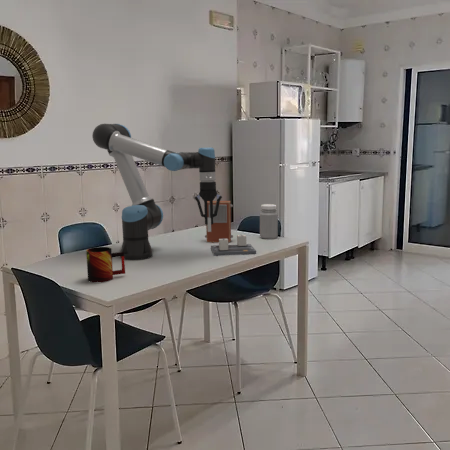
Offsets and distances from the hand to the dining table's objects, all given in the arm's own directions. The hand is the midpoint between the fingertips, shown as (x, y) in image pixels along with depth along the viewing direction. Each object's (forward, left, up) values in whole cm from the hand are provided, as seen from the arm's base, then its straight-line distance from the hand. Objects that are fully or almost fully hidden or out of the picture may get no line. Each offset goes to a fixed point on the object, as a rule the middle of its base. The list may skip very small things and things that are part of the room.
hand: (209, 231), depth 245 cm
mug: (-45, -35, -11) cm, 58 cm away
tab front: (+7, 0, -9) cm, 11 cm away
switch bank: (+12, +4, -11) cm, 17 cm away
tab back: (+17, +8, -9) cm, 21 cm away
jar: (+36, +34, -11) cm, 51 cm away
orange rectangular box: (+8, +29, -11) cm, 32 cm away
